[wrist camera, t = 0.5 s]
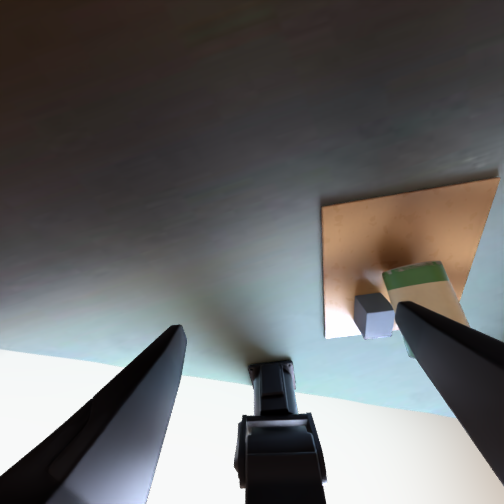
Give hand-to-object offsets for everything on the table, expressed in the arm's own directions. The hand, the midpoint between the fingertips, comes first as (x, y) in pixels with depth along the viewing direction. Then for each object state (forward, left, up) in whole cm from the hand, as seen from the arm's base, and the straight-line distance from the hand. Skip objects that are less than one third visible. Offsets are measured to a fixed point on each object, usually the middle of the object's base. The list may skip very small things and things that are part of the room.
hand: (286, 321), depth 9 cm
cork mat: (-8, -14, -14) cm, 21 cm away
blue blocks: (-13, -14, -13) cm, 23 cm away
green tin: (-10, -14, -13) cm, 21 cm away
